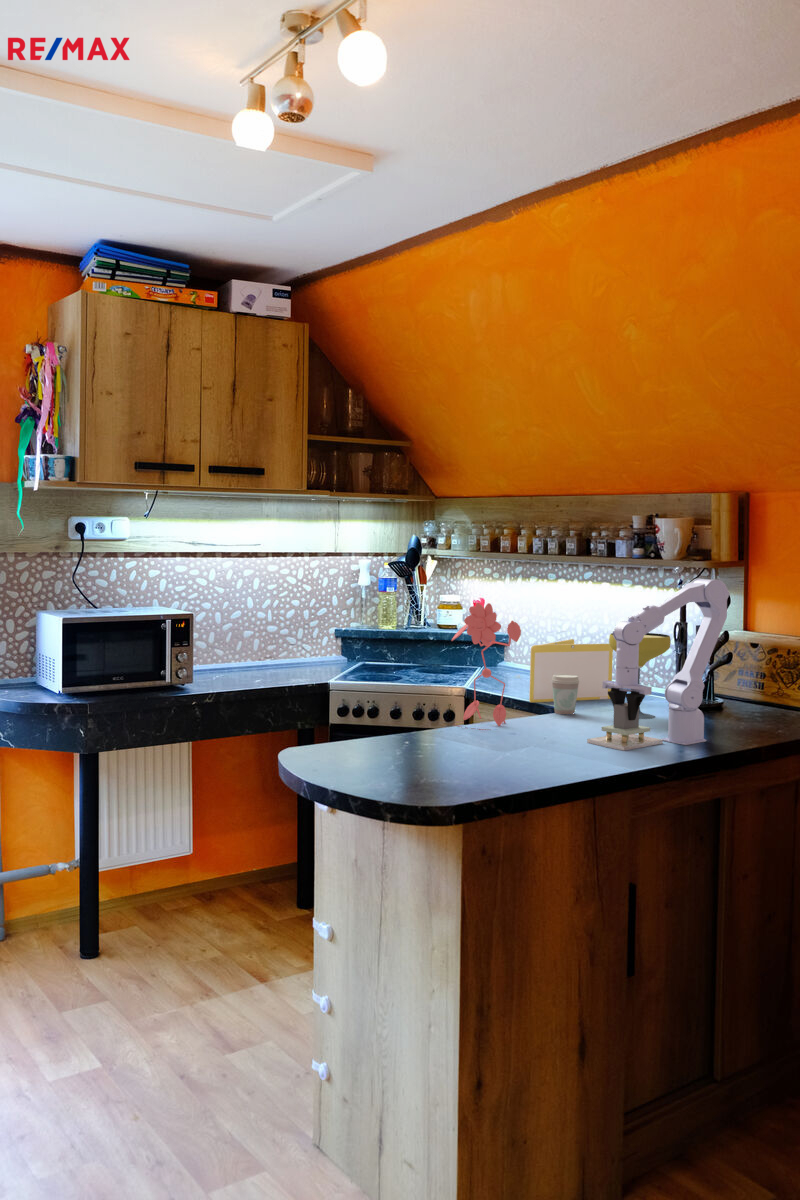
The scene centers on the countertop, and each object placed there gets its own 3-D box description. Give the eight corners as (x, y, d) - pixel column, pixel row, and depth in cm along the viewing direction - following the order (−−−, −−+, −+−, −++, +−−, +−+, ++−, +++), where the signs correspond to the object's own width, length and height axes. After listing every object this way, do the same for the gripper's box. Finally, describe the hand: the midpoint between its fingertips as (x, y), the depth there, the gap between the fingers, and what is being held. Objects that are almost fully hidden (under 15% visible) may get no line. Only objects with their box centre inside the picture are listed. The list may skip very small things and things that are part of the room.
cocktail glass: (657, 724, 291) (660, 638, 289) (598, 717, 300) (600, 635, 299) (675, 715, 306) (678, 634, 305) (618, 709, 316) (620, 631, 314)
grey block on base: (625, 726, 268) (626, 700, 268) (650, 731, 262) (651, 704, 262) (601, 730, 262) (602, 704, 262) (626, 735, 256) (626, 708, 255)
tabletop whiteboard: (562, 691, 354) (563, 636, 353) (621, 697, 343) (623, 640, 342) (521, 704, 324) (522, 644, 323) (584, 711, 313) (586, 649, 312)
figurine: (461, 716, 299) (463, 599, 297) (530, 728, 281) (533, 604, 279) (426, 722, 288) (428, 601, 286) (495, 735, 270) (498, 606, 268)
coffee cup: (549, 716, 302) (550, 676, 301) (551, 711, 310) (552, 673, 309) (577, 717, 300) (578, 678, 299) (579, 713, 308) (580, 674, 307)
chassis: (626, 736, 272) (626, 725, 271) (662, 743, 262) (663, 732, 262) (587, 742, 262) (587, 731, 261) (623, 750, 252) (624, 738, 252)
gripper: (595, 665, 264) (594, 716, 265) (640, 671, 253) (638, 724, 253) (612, 663, 268) (611, 713, 269) (657, 669, 257) (655, 721, 258)
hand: (625, 718), depth 262 cm, fingers closed on grey block on base, 3 cm apart
